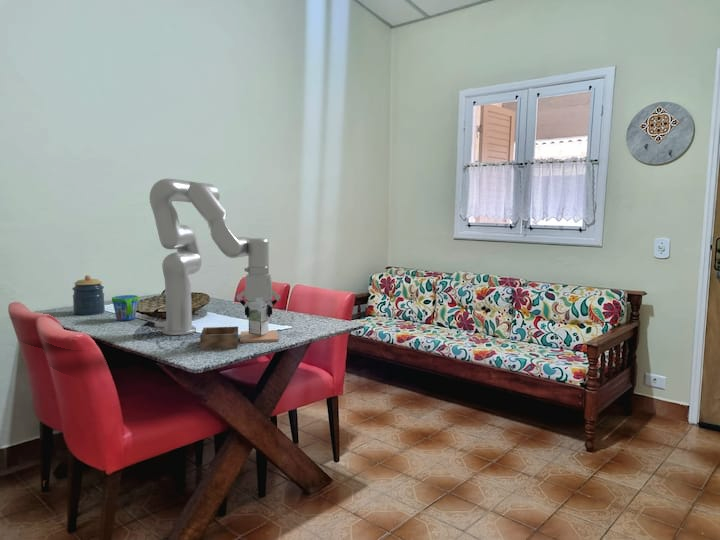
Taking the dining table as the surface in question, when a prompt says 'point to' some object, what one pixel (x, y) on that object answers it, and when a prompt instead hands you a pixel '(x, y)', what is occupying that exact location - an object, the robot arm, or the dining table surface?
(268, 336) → the tile
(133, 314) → the snack cup
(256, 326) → the syrup box
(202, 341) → the collar
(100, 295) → the canister
